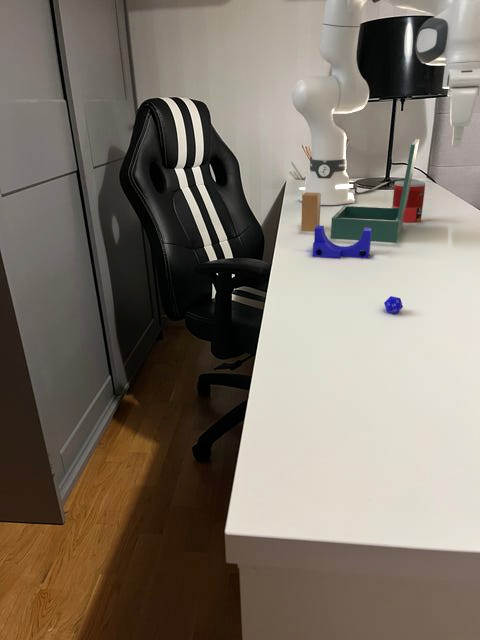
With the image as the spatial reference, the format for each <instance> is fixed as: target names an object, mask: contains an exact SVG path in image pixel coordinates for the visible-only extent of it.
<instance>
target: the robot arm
mask: <svg viewBox="0 0 480 640" xmlns="http://www.w3.org/2000/svg"><path fill="white" fill-rule="evenodd" d="M368 1H369V0H326V3H325V7H324V12H323V16H322V25H321V31H320V32H321V34H320V39H319V54H320V56H321V58H322V59H323V60H324V61H326V62H327V63H328V64H329V65H330V67H331V75H321V76H319V75H315V76H314V75H313V76H309V77H306V78H302V79H299V80H298V81H296V83H295V85H294V86H293V90H292V95H291V100H292V104H293V106H294V108H295V110H296V111H297V112H298V113H299V114H301V116H302V117H303V118H304V120H305V121H306V123H307V126H308V128H309V131H310V136H311V158H310V160H309V161H310V162H309V171H310V172H309V174H307V175H306V176H305V179H304V187H299V190H301V191H302V190H303V191H304V193H306V192H309V193H321V204H320V206H339V205H345V204H354V203H355V196H354V194H356V195H363V194H367V193H370V192H373V191H375V190H378V189H379V188H381V187H384V186H385V185H388V184H387V183H388V182H389V184H393V183H395V182H396V181H402V180H405V178H399V179H394V180H389V181H386V182H383V183H381V184H378V185H377V186H375V187H373V188H370V189H367V190H365V191H360V192H359V191H358V187H357V185H356V184H357V182H356V180H355V181H354V180H350V177H349V175H348V174H347V171H346V170H347V164H348V162H347V158H346V152H347V150H346V149H347V135H346V131H344V129H342V128H341V127H339V126H338V125H336V123H335V120H334V118H333V117H334V116H333V115H336V114H351V113H354V112H358V111H360V110H362V109H364V108H365V107H366V105H367V103H368V101H369V98H370V87H369V84H368V82H367V80H366V79H365V78H363V76H362V74H361V72H360V69H359V65H358V59H357V54H358V53H357V51H358V42H359V36H360V29H361V23H362V14H363V9H364V6H365V4H366V3H367V2H368ZM371 1H372V3H373V4H375V3H378V2H380V1H381V0H371ZM385 1H386V2H387V3H388V4H389V5H391V6H392V7H394V8H398V9H402V10H411V11H417V12H421V13H424V14H428V15H430V16H433V17H430V18H428V19H426V20H425V21H424V22H423V24H422V25H421V26H420V27H419V30H418V31H417V34H416V37H415V43H414V45H415V54H416V57H417V59H418V60H419V61H420V62H421V63H422V64H425V65H428V66H444V71H443V78H442V87H441V88H442V89H447V97H450V113H449V114H450V115H449V116H450V126H451V127H453V129H452V140H451V141H452V143H451V147H452V148H460V147H462V140H463V135H464V131H465V127H468V126H470V124H471V121H472V118H473V114H474V110H475V106H476V101H477V98H478V96H479V95H480V0H385ZM352 190H354V193H352ZM304 193H303V194H304ZM299 202H302V196H301V197H299Z"/></svg>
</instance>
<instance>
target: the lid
mask: <svg viewBox="0 0 480 640" xmlns="http://www.w3.org/2000/svg"><path fill="white" fill-rule="evenodd" d="M419 144H420V139H418V138H415V140H414V141H412V143H411V145H410V148H409V154H408V160H407V164H406V170H405V175H404V179H405V180H404V185H403V191H402V196H401V201H400V206H399V212H398V217H397V219H400V220H401V218H402V216H403V213H404V211H405V208H406V205H407V200H408V195H409V190H410V185H411V180H413V175H414V170H415V165H416V164H415V163H416V159H417V154H418V149H419Z"/></svg>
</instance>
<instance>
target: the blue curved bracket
mask: <svg viewBox="0 0 480 640" xmlns="http://www.w3.org/2000/svg"><path fill="white" fill-rule="evenodd" d="M371 231H372V228H364V231H363V235H362V237H361V239H360V240H357V242H355V243H353V244H351V245H347V246H341V245H337V244H335V243H334V242H332V241H331V240H330V239H329V238H328V237H327V235H326V232H325V226H324V225H320V226H316V228H315V231H314V235H313V237H314V239H313V242H312V257H313V258H327V259H341V258H342V257H343V258H356V259H369V258H370V252H371V242H372V241H371ZM362 251H364V252H365V253H361V252H362Z"/></svg>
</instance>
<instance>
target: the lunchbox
mask: <svg viewBox="0 0 480 640" xmlns="http://www.w3.org/2000/svg"><path fill="white" fill-rule="evenodd" d="M398 212H399V208H392V207H387V206H365V205H362V206H361V205H343V206H342V207H341V208H340V209H339V210H338V211H337V213H335V214H334V215H333V216H332V217H331V222H330V223H331V226H330V239H331V240H345V241H347V240H348V241H359V240H360V239H361V237H362V235H363V231H364V228H372V231H371V242H375V243H379V242H380V243H392V244H397V242H398V240H399V237H400V235H401V233H402V230H403V226H404V223H403V217H404V213H403V216H402V218H401V220H400V219H397V217H398Z"/></svg>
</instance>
